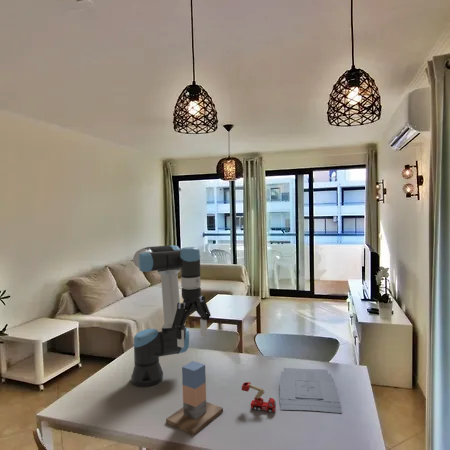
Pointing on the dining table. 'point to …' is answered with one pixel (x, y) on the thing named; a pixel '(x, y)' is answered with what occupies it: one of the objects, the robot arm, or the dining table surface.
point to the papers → (308, 390)
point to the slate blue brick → (193, 374)
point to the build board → (194, 423)
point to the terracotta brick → (194, 395)
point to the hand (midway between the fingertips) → (192, 341)
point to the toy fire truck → (260, 399)
